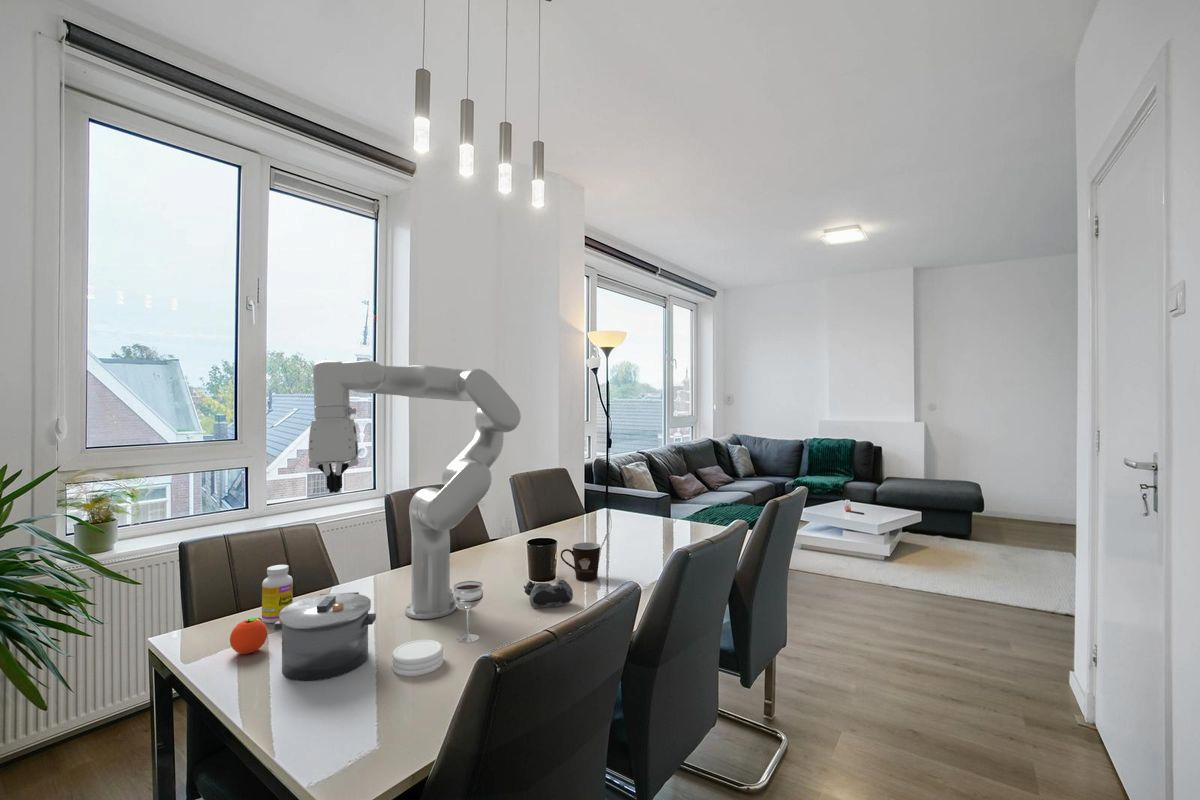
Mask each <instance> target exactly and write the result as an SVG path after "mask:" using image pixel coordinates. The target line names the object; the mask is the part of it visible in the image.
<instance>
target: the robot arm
mask: <svg viewBox="0 0 1200 800" xmlns="http://www.w3.org/2000/svg"><path fill="white" fill-rule="evenodd" d="M312 371H313V372H312V375H313V378H312V379H313V381H312V382H313V406H314V408H313V409H314V411H313V413H314V419H313V420H311V423H310V429H309V436H308V460H309V462H308V467H309V468H311V469H316V470H317V469H318V470H319V471H320V472H322V474H324V476H326V489H327V490H328V491H329V492H328V493H329V494H333V493H334V494H337V493H339V492H340V491H341V489H342V488H343V474H344V473H345V472H346V470H347V469H349V468H351V467H355V466H358V465H359V458H358V457H359V442H358V434H357V433H358V432H357V426H356V422H355V418H351V416H352V415H356V414H357V408H356V407H355V408H354V407H352V406H351V405H350V403H351V402H350V391H353V392H356V393H362V394H373V395H374V394H377V395H388V396H389V395H390V396H402V397H408V398H416V399H417V398H418V399H426V400H427V399H428V400H442V401H443V400H444V401H453V402H454V401H455V402H456V401H457V402H473V403H474V404H475V405H476V407H477V409H476V411H475V415H474V420H475V433H474V437H473V438H472V440H471V441H470V442H469V443H468V444H467V446H466V447H465V448H464V449H463V450H462V451H461V452H460V453H459V454H458V455H457V456H456V457H455V458H454V459H453V460H452V461H451V462H450V463H449V464H448V465H447V466H446V467H445V468H444V470H443V472H442V476H441V480H442V484H443V487H442V488H441V489H440V488H436V487H424V488H422V489H420V490H418V491H417V492H415V493H414V495H413V496H412V498H411V500H410V503H409V508H408V513H409V524H410V532H411V602H410V603H409V604H408V605H407V606H406V607H405V608H404V613H405V615H406V616H407V617H408V618H411V619H417V620H429V619H432V620H433V619H438V618H443V617H445V616H448V615H450V614H452V613H454V611H455V610H456V609H457V604H456V603H455V602H454V600H453V589H452V588H451V578H450V577H451V572H450V571H451V569H450V568H451V558H450V557H451V556H450V555H451V534H450V530H452V529H453V528H455V527H456V526H458V525H459V524H460V523H461V522H462V521H463V520H464V519H465V517H467V515H468V514H469V513H471V511H472V510H473V509H474V508H475V507H476V506H477V505H478V504H479V502H481V500H482V499H483V498H484V497H485V496H486V495H487V493H488V491H489V489H490V487H491V484H492V479H493V478H492V471H491V470H490V468H491V467H492V465H494V464H495V462H496V461H497V460H498V458H499V457H500V455H501V453H502V450H503V446H504V433H509V432H512V431H514V430H516V428H517V427H518V426H519V425H520V422H521V417H522V416H521V411H520V409H519V406H518V405H517V403H516V402H515V401H514V400H513V399H512V398H511V396H510V395H509V394H508V393H507V392H506V390H505V389H504V388H503V387H502V386H501V385H500V383H498V382H497V380H496V379H495V378H494V377H493V376H492V375H491V374H490V373H489V372H488V371H486V370H485V369H482V368H481V369H480V368H473V369H472V368H471V369H461V368H451V367H440V366H433V365H423V364H422V365H421V364H420V365H419V364H417V365H405V366H396V365H395V366H394V365H382V364H380V363H379V362H377V361H374V360H368V359H367V360H364V359H363V360H357V361H346V362H344V361H340V360H321V361H317V362H315V363H314V365H313V367H312ZM332 463H336V465H335V472H334V469H333V464H332Z"/></svg>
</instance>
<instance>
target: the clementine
mask: <svg viewBox="0 0 1200 800" xmlns="http://www.w3.org/2000/svg"><path fill="white" fill-rule="evenodd" d="M267 638H268V628H267V626H266V623H265V622H263V621H262V617H251V618H248V619H245V620H243V621H241V622H239V623H238V624H236V626H235V627H234V628H233V629H232V631H231V633H230V636H229V644H230V646H231V647H230V648H231V649H233V650H234V651H235V652H236V653H238V654H240V655H241V654H242V655H244V654H245V655H246V654H251V653H254V652H256V651H258V650H259V649H261V648H262V647H263V645H264V644H265V642H266V640H267Z"/></svg>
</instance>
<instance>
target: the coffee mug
mask: <svg viewBox="0 0 1200 800" xmlns="http://www.w3.org/2000/svg"><path fill="white" fill-rule="evenodd" d="M571 547H572V550H571V549H569V548H564V549H563V550H562V551H561V552H560V558H561V560H562V561H563V563H564V564H565V565H568V566H569V567H570V568H572V570H574V572H575V579H576V580H577V581H578V582H585V583H586V582H587V583H589V582H594V581H596V580H597V579H598V571H599V570H598V569H599V563H600V554H601V544H600V543H597V542H591V541H590V542H584V541H583V542H577V543H574V544H573V545H572V546H571ZM565 552H569V553H570V554H571V556H572V557H573V563H574V565H572V564H571V563H569V562H568V561H566V559H565V558H564V557H563V553H565Z"/></svg>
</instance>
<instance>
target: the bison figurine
mask: <svg viewBox="0 0 1200 800" xmlns="http://www.w3.org/2000/svg"><path fill="white" fill-rule="evenodd" d="M523 588H524V593H525V594H526V595H527V596H528V597H529V602H530V607H532V608H534V609H543V608H557V607H559V606H564V605H566V604H569V603H571V602H572V601H573V599H574V593H573V591H574V590H573V588H572V586H571V585H570V584H569V583H568V582H567V580H565V579H558V580H556V582H555V585H552V584H551V583H549V582H546V583H544V582H543V583H542V582H535V581H534V582H532V581H531V580H528V582H527V583H526V585H525V584H524V585H523Z"/></svg>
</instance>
